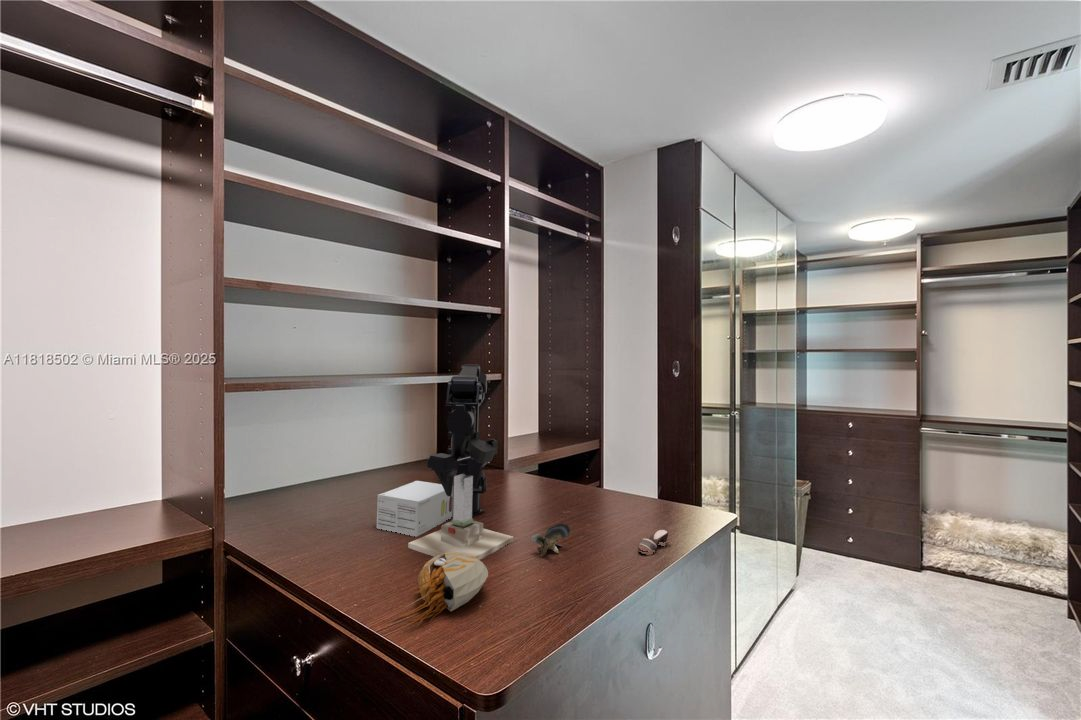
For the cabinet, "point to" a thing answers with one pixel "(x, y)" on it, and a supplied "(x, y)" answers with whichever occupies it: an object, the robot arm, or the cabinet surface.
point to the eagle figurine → (551, 538)
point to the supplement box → (413, 508)
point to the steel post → (462, 500)
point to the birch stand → (461, 540)
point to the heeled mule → (654, 540)
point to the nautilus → (449, 582)
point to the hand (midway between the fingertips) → (461, 491)
